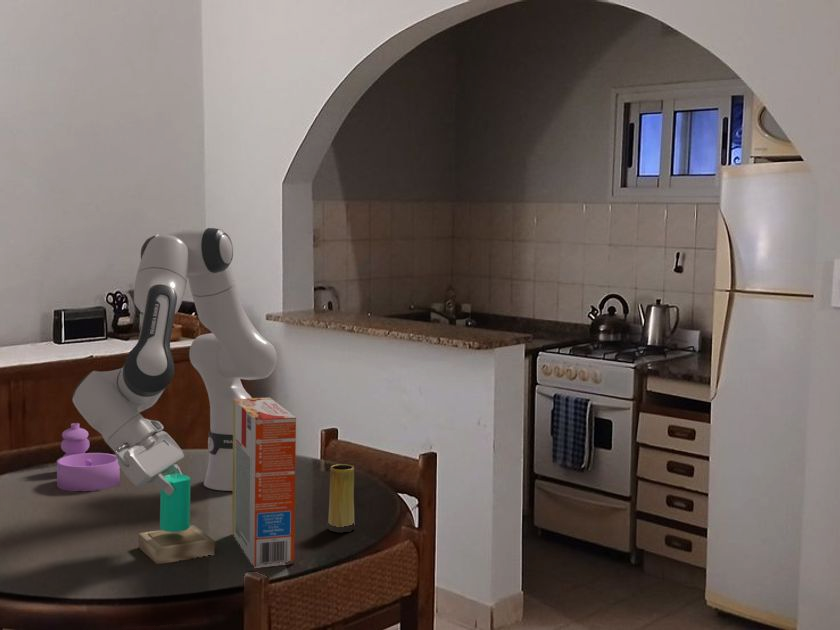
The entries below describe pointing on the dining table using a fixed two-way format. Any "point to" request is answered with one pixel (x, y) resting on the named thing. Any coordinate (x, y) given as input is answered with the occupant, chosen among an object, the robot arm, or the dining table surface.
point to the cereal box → (264, 480)
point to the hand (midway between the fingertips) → (178, 488)
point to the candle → (176, 504)
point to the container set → (84, 464)
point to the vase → (341, 495)
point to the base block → (176, 545)
